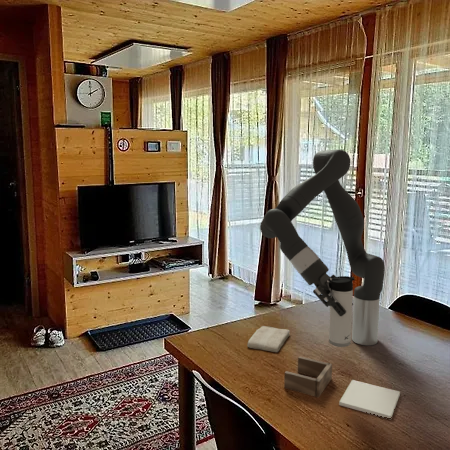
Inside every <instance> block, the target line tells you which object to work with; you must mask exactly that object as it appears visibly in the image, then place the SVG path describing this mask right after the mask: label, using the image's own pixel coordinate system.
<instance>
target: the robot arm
mask: <svg viewBox="0 0 450 450" xmlns="http://www.w3.org/2000/svg"><path fill="white" fill-rule="evenodd" d="M312 165H313V171H314V173H315V174H314V175H312V176H310V177H309V178H307V179H306V180H303V181H302V182H300V183H298V184H296V186H295V187H293V188H292V189H291V190H290V191H288V192H287V194H285V196H284V197H283V198H282V199H281V200H280V201H279V203H278V204H277V206H276V207H275V208H272V209H269V210H268V211H267V212H266V213H265V215H264V217H263V218H262V219H261V221H260V227H259V230H260V232H261V234H262V235H263V236H264V237H265V238H267V239H275V238H277V240H278V241H279V249H280V251H281V252H282V253H283V255H284V256H285V257H286V259H288V260H289V262H290V263H291V265H292V266H293V268H294V269H295V270H296V272H298V274H299V275H300V277H302V278H303V280H304V281H305V282H306V284H307V285H308V286H312V285H313V284H314V286H315V289H313V291H312V293H313V294H314V295H315V296H316V297H317V298H318V299H319V301H320V302H321V303H322V304H324V306H325V307H327V308H328V307H329V308H330V307H331V306H332V307H333V308H334V310H335V311H336V312H337V313H338V314H339V316H343V315H344V314H345V313H346V310H345V309H344V308H343V307H342V305H341V304H340V303H339V302H338V301H337V299H336V298H335V296H334V292H333V291H332V288H331V280H332V278H334V277H337V276H336V275H335V274H334V273H333V274H331V276H330V275H328V274H327V273H328V272H330V271H329V270H330V269H329V267H328V266H327V265H326V264H325V263H324V262H323V260H322V259H321V258H320V257H319V255H317V254H316V252H315V251H314V250H313V249H311V247H309V245H308V244H307V242H305V240H303V239H302V237H300V235H299V234H298V231H297V229H296V228H295V226H294V224H293V222H292V221H293V220H294V219H295V218H296V217H298V215H300V213H301V212H302V211H304V209H305V208H306V207H308V205H309V204H310V203H312V202H313V201H314V199H315V198H317V197H318V196H319V195H320V194H321V193H323V192H324V194H325V196H326V198H327V201H328V203H329V206H330V209H331V212H332V215H333V217H334V220H335V221H334V222H335V223H336V226H337V229H338V230H339V233H340V235H341V239H342V242H343V245H344V248H345V251H346V254H347V255H346V256H347V259H348V264H349V267H350V270H351V272H352V273H353V275H354V276H356V277H359V278H362V279H363V285H359V286H356V287H355V288H353V302H352V325H351V341H353V342H354V343H356V344H358V345H362V346H374V345H377V343H378V337H379V336H378V335H379V320H380V302H381V299H380V298H381V294H382V291H383V289H384V280H385V269H386V267H385V262H384V260H383V259H382V257H381V256H378V255H374V254H371V253H367V251H366V249H365V247H364V244H363V240H362V236H363V231H364V229H365V220H364V216H363V213H362V210H361V208H360V206H359V204H358V202H357V201H356V200H355V198H354V197H353V196H352V195H351V194H350V193H349V192H348V191H347V189H345V188H344V187H343V185H342V184H341V182H340V179H341V178H343V177H344V176H345V175H346V174H347V173H348V172H349V170H350V168H351V157H350V155H349V153H348V152H347V151H346V150H343V149H325V150H319V151H317V152H316V153H314V156H313V159H312ZM331 297H332V298H331Z"/></svg>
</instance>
